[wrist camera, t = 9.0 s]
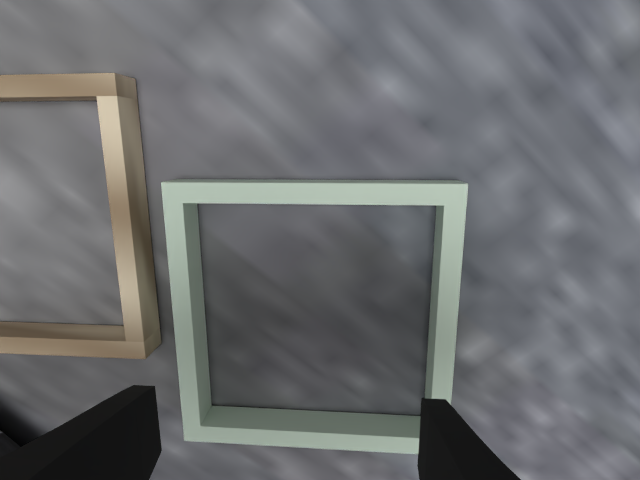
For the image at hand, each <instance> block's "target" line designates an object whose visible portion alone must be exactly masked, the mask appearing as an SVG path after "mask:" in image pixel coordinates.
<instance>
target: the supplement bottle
mask: <svg viewBox="0 0 640 480" xmlns="http://www.w3.org/2000/svg"><path fill="white" fill-rule="evenodd" d="M18 448H20V446H19V445H18V444H16V443H15V442H14V441H13V440H12V439H10V438H9V437H8V436H7V435H5V434H4V433H3V432H2V431H0V457H2V456H4V455H6V454H8V453H10V452H12V451H14V450H16V449H18Z"/></svg>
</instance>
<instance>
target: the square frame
mask: <svg viewBox="0 0 640 480" xmlns="http://www.w3.org/2000/svg"><path fill="white" fill-rule="evenodd" d="M161 188H162V199H163V210H164V221H165V232H166V243H167V254H168V266H169V277H170V288H171V299H172V310H173V321H174V332H175V343H176V354H177V365H178V377H179V388H180V399H181V410H182V421H183V432H184V441H196V442H213V443H230V444H248V445H265V446H283V447H300V448H318V449H335V450H352V451H370V452H387V453H405V454H418V452H419V435H420V418H421V416H409V415H389V414H369V413H349V412H329V411H309V410H289V409H269V408H249V407H229V406H212V404H211V389H210V375H209V361H208V347H207V333H206V319H205V305H204V291H203V277H202V263H201V249H200V235H199V221H198V207H197V203H226V204H337V205H436V219H435V235H434V252H433V268H432V284H431V301H430V317H429V334H428V350H427V366H426V383H425V398H429V399H446V400H447V401H448V402H449V404H450V405H451V397H452V385H453V372H454V359H455V346H456V333H457V320H458V308H459V295H460V282H461V269H462V256H463V243H464V230H465V218H466V205H467V192H468V184H467V183H464V182H462V181H459V180H280V179H175V180H170V181H165V182H161Z"/></svg>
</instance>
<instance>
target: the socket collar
mask: <svg viewBox="0 0 640 480" xmlns="http://www.w3.org/2000/svg"><path fill="white" fill-rule="evenodd" d="M87 100H97V104H98V113H99V121H100V129H101V138H102V146H103V154H104V163H105V171H106V179H107V188H108V196H109V205H110V213H111V221H112V230H113V238H114V246H115V255H116V263H117V271H118V280H119V288H120V296H121V305H122V313H123V322H124V326H116V325H87V324H58V323H29V322H0V353H9V354H34V355H58V356H82V357H107V358H131V359H146V358H147V357H148V356H149V355H150V354H151V353H152V352H153V351H154V350H155V349H156V348H157V347H158V346H159V345H160V344H161V334H160V323H159V313H158V303H157V293H156V283H155V273H154V263H153V252H152V242H151V232H150V222H149V212H148V202H147V191H146V181H145V171H144V161H143V151H142V141H141V131H140V120H139V110H138V100H137V90H136V80H135V79H134V78H130V77H127V76H123V75H120V74H116V73H89V74H33V75H0V102H4V101H87Z"/></svg>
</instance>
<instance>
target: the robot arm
mask: <svg viewBox="0 0 640 480" xmlns="http://www.w3.org/2000/svg"><path fill="white" fill-rule="evenodd" d="M161 451H162V450H161V440H160V430H159V421H158V411H157V402H156V392H155V386H139V385H133V386H131V387H129V388H127V389H125V390H123V391H121V392H119V393H117V394H115V395H114V396H112V397H110V398H108V399H106V400H105V401H103V402H101V403H99V404H98V405H96V406H94V407H92V408H91V409H89V410H87V411H85V412H84V413H82V414H80V415H78V416H77V417H75V418H73V419H71V420H70V421H68V422H66V423H64V424H63V425H61V426H59V427H57V428H56V429H54V430H52V431H50V432H48V433H46V434H44V435H42V436H41V437H39V438H37V439H35V440H33V441H31V442H29V443H27V444H26V445H24V446H22V447H20V448H18V449H16V450H14V451H12V452H10V453H8V454H6V455H4V456H2V457H0V480H149V478H150V476H151V474H152V472H153V469H154V467H155V465H156V462H157V460H158V458H159V456H160V453H161ZM418 471H419V479H420V480H521V479H520V478H518V477H517V476H516V475H515V474H514V473H513V472H512V471H511V470H510V469H509V468H508V467H507V466H506V465H505V464H504V463H503V462H502V461H501V460H500V459H499V458H498V457H497V456H496V455H495V454H494V453H493V452H492V451H491V450H490V449H489V447H488V446H487V445H486V444H485V443H484V442H483V441H482V440H481V439H480V438H479V437H478V436H477V435H476V433H475V432H474V431H473V430H472V429H471V428H470V427H469V425H468V424H467V423H466V422H465V421H464V420H463V419H462V417H461V416H460V415H459V414H458V413H457V412H456V410H455V409H454V408H453V407H452V406H451V405H450V404H449V402H448V401H447V400H446V399H429V398H422V401H421V418H420V435H419V452H418Z"/></svg>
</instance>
